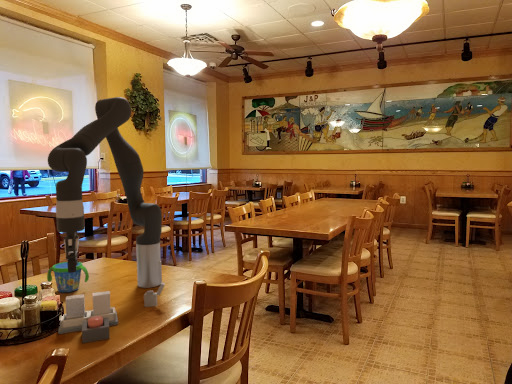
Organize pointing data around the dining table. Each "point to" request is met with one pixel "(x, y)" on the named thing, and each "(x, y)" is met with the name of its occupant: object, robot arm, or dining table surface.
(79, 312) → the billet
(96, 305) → the grey slotted holder
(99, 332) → the button housing
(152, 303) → the lighter
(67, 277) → the snack cup
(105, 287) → the dining table surface
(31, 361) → the dining table surface
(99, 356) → the dining table surface
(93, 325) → the button
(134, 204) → the robot arm
